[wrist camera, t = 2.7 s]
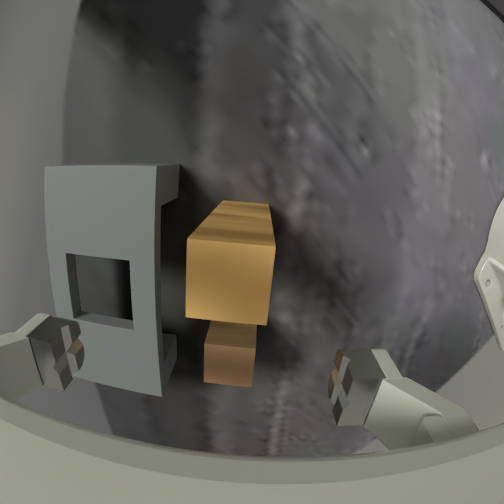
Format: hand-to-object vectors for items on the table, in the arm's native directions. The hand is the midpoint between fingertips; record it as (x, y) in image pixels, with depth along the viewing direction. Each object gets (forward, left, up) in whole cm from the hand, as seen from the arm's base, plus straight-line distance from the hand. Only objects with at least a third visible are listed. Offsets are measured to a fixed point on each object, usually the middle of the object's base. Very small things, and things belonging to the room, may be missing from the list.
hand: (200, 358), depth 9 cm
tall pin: (0, 0, -20) cm, 20 cm away
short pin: (-8, +5, -20) cm, 22 cm away
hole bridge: (+2, +12, -20) cm, 23 cm away
